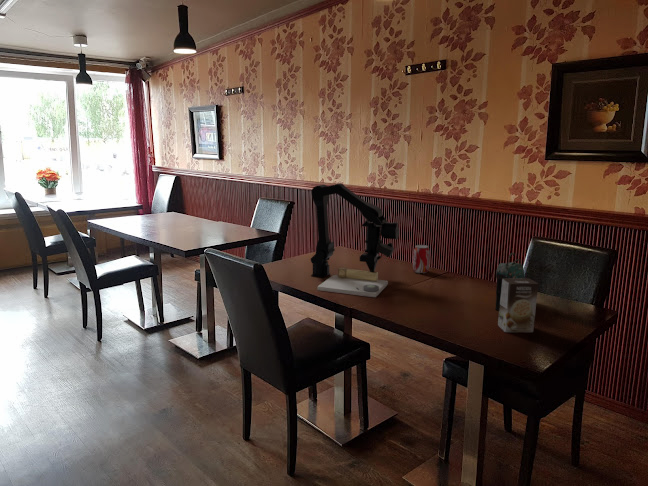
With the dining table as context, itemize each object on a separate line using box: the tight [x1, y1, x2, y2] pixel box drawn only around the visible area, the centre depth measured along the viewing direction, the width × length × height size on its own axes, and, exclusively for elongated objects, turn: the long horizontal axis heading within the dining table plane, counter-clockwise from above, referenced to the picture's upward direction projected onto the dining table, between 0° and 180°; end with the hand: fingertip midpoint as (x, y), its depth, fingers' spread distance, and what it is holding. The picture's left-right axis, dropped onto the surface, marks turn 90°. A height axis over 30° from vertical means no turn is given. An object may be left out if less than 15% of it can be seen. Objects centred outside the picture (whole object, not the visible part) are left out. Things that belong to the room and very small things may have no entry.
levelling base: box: [317, 274, 389, 298], centre depth 198 cm, size 24×18×3 cm
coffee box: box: [497, 277, 539, 333], centre depth 154 cm, size 9×6×16 cm
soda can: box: [412, 244, 431, 274], centre depth 219 cm, size 7×7×12 cm
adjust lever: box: [337, 267, 379, 281], centre depth 204 cm, size 17×4×4 cm, turn 68°
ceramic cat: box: [495, 252, 526, 312], centre depth 175 cm, size 20×6×20 cm, turn 139°
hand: (372, 273), depth 205 cm, fingers closed
